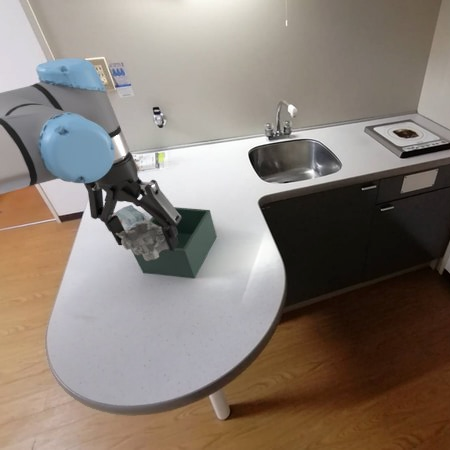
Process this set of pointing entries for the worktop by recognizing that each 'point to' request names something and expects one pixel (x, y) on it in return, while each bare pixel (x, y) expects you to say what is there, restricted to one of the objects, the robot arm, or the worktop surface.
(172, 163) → the worktop surface
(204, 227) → the trash bin
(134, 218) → the packaged food
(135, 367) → the worktop surface
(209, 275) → the worktop surface
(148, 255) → the egg carton
